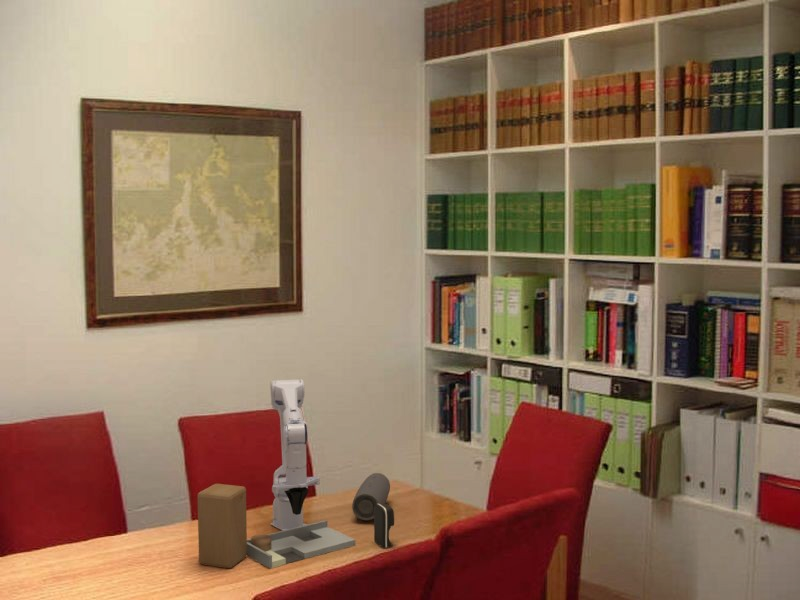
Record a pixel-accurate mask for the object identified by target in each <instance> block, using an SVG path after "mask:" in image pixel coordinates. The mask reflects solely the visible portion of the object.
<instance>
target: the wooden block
mask: <svg viewBox="0 0 800 600" xmlns="http://www.w3.org/2000/svg"><path fill="white" fill-rule="evenodd" d="M197 526H198V527H197V528H198V531H197V532H198V533H197V534H198V535H197V536H198V563H199V564H200V565H204V566H209V567H210V566H211V567H218V568H225V569H226V568H227V569H230V568H233V567H235V566H236V565H237V564H238V563H239V562H241V561H242V560H244V559H245V558H246V557H248V556H247V537H248V535H247V534H248V533H247V529H248V527H247V489H246V487H245V486H243V485H241V486H240V485H235V484H234V485H233V484H222V483H214V484H212V485H211V486H209V487H207V488H205V489H203V490H200V492H198V494H197Z"/></svg>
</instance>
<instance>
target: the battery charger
mask: <svg viewBox="0 0 800 600" xmlns="http://www.w3.org/2000/svg"><path fill="white" fill-rule="evenodd" d="M394 525H395V511H394V508H393V507H392V506H390V505H389V504H387V503H382V504H376V505H375V506H374V518H373V529H374V533H373V534H374V535H373V536H374V537H373V540H374V542H375V543H376V544H377V545H379V546H380V547H381V548H383V549H387V548H390V547H392V546H393V543H392V542H391V541H390V529H391V527H393V526H394Z"/></svg>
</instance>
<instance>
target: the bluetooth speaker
mask: <svg viewBox="0 0 800 600" xmlns="http://www.w3.org/2000/svg"><path fill="white" fill-rule="evenodd" d="M390 490H391V483H390V479H389V478H388V477H387V476H386V475H384V474H383V473H380V472H376V473H372V474H369V475H368V476H367V477H366V478H365V479H364V481H363V482H362V484H361V485H360V486H359V487H358V490H357V491H356V493H355V494H354V495H355V496H354V498H353V499H352V500H353V501H352V506H351V508H352V513H353V514H354V516H355V517H356V518H358V519H360V520H362V521H370V520H374V506H375V505H376V504H382V503H385V504H387V503H386V502H387V500H388V498H389V493H390Z"/></svg>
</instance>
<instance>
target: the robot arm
mask: <svg viewBox="0 0 800 600" xmlns="http://www.w3.org/2000/svg"><path fill="white" fill-rule="evenodd" d="M269 386H270V404H271V407H272V409H273V410H276V411H277V412H278V415H279V419H280V420H279V422H280V423H279V424H280V443H281V445H280V447H281V462H282V463H281V464H282V465H280V466H279V467H278V468H277V469H275V471H274V473H273V481H272V482H273V483H272V484H273V485H272V486H271V493H273V497H275V498H274V500H273V503H272V522H270V525H271V526H273V527H275V528H276V529H279V530H280V531H284V530H288V529H292V528H296V527H300V526H304V525H308V523H304V502H305V500H306V498H307V496H308V494H309V490H310V489H309V488H308V487H309V486H314V485H315V486H317V485H320V484H321V478H320V477H319V476H317V475H316V476H308V475H307V444H308V443H309V430H308V424H307V422H306V421H305V420H304V414H303V411H302V409H301V408H302V407H303V404H304V399H305V381H304V380H303V379H302V378H299V379H276V380H275V379H272V380H271V382H270V385H269Z"/></svg>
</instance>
